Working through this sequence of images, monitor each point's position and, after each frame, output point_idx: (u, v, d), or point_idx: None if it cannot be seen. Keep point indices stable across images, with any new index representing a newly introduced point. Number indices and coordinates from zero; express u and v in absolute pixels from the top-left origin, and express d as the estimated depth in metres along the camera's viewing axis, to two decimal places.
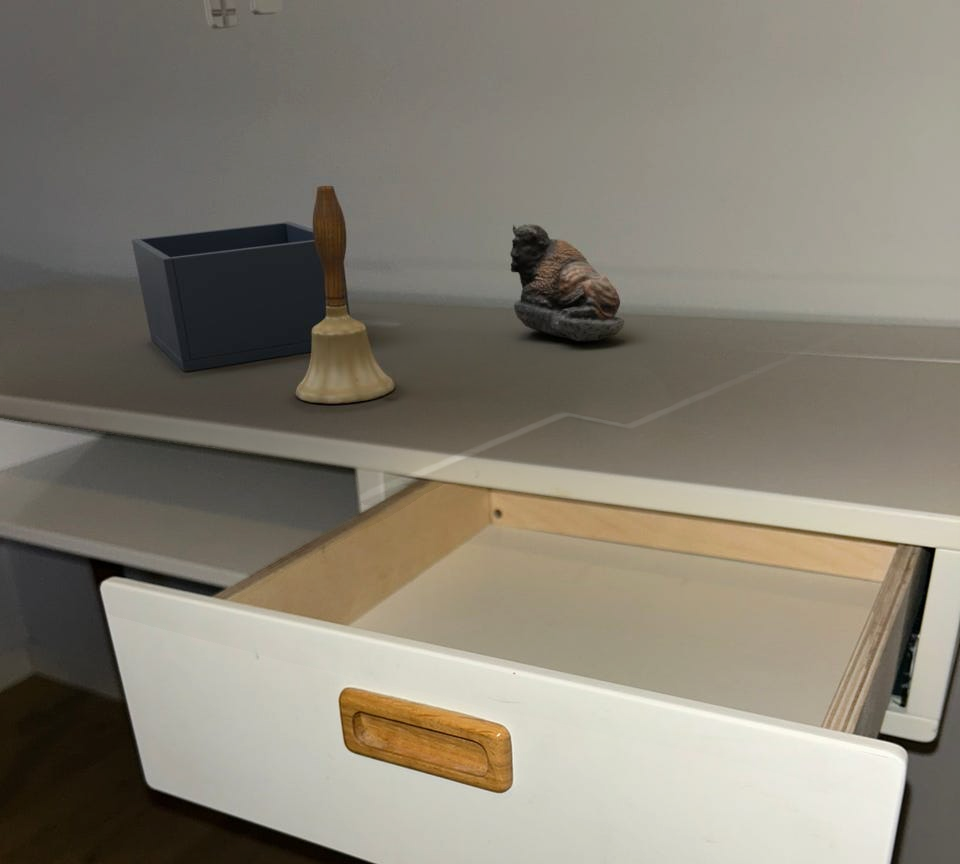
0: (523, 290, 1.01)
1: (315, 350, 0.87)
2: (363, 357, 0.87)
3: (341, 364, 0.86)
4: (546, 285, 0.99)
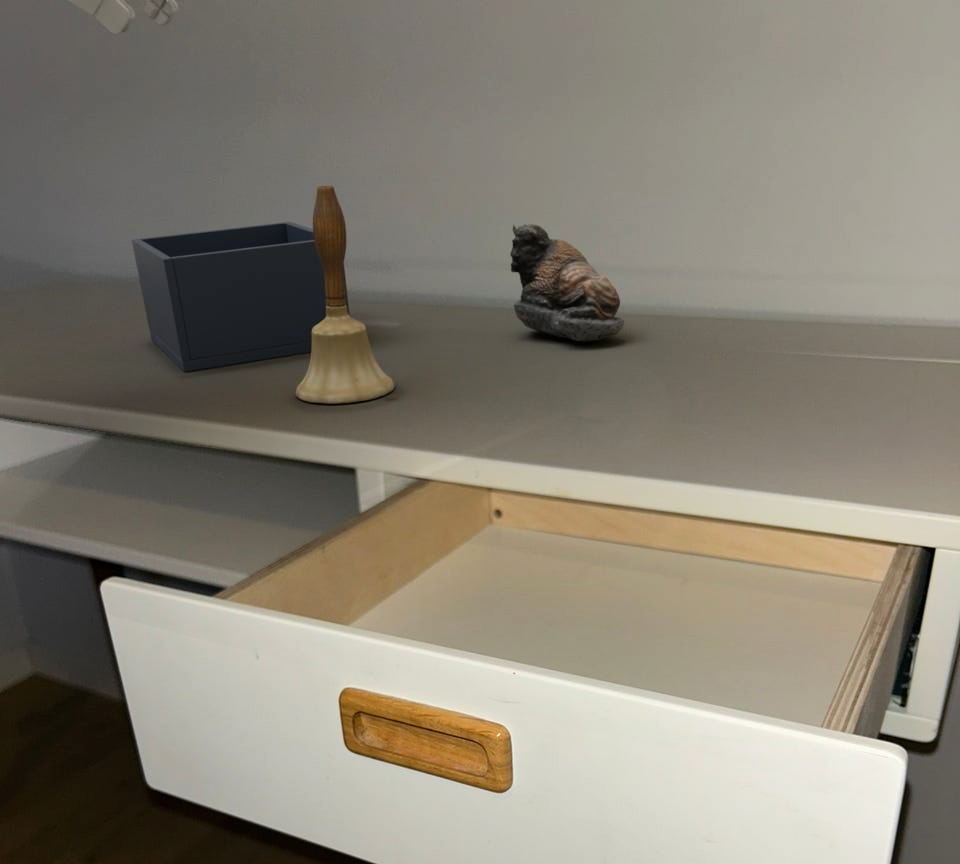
0: (523, 290, 1.01)
1: (315, 350, 0.87)
2: (363, 357, 0.87)
3: (341, 364, 0.86)
4: (546, 285, 0.99)
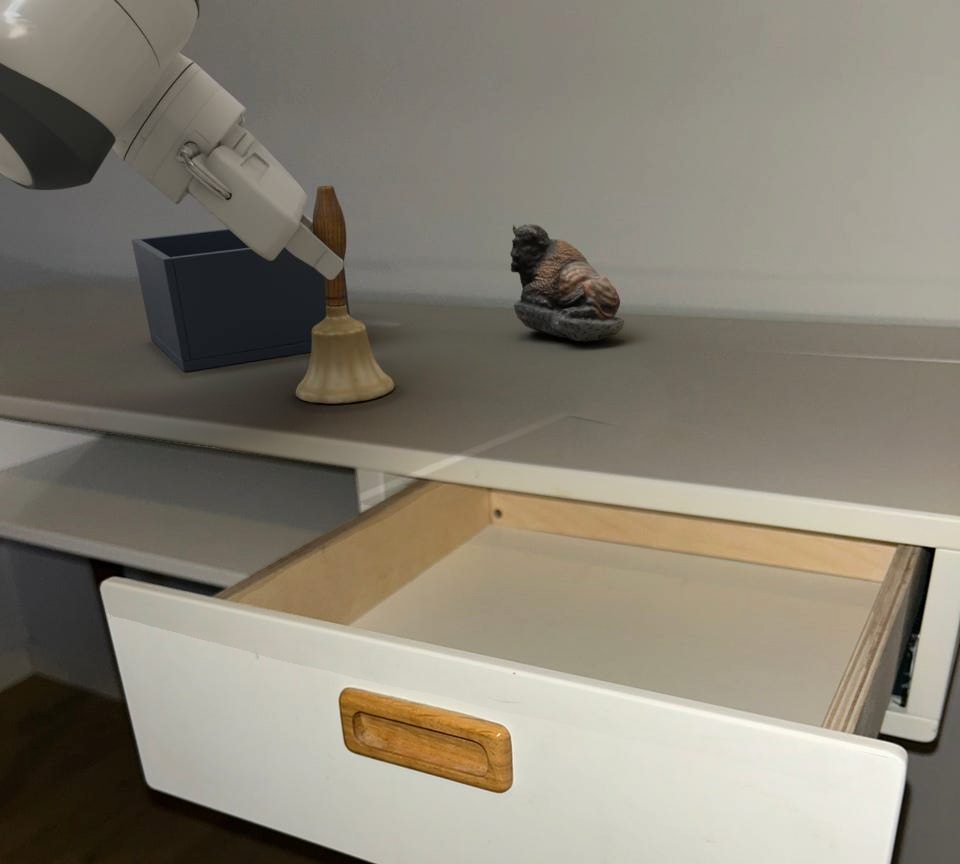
0: (523, 290, 1.01)
1: (315, 350, 0.87)
2: (363, 357, 0.87)
3: (341, 364, 0.86)
4: (546, 285, 0.99)
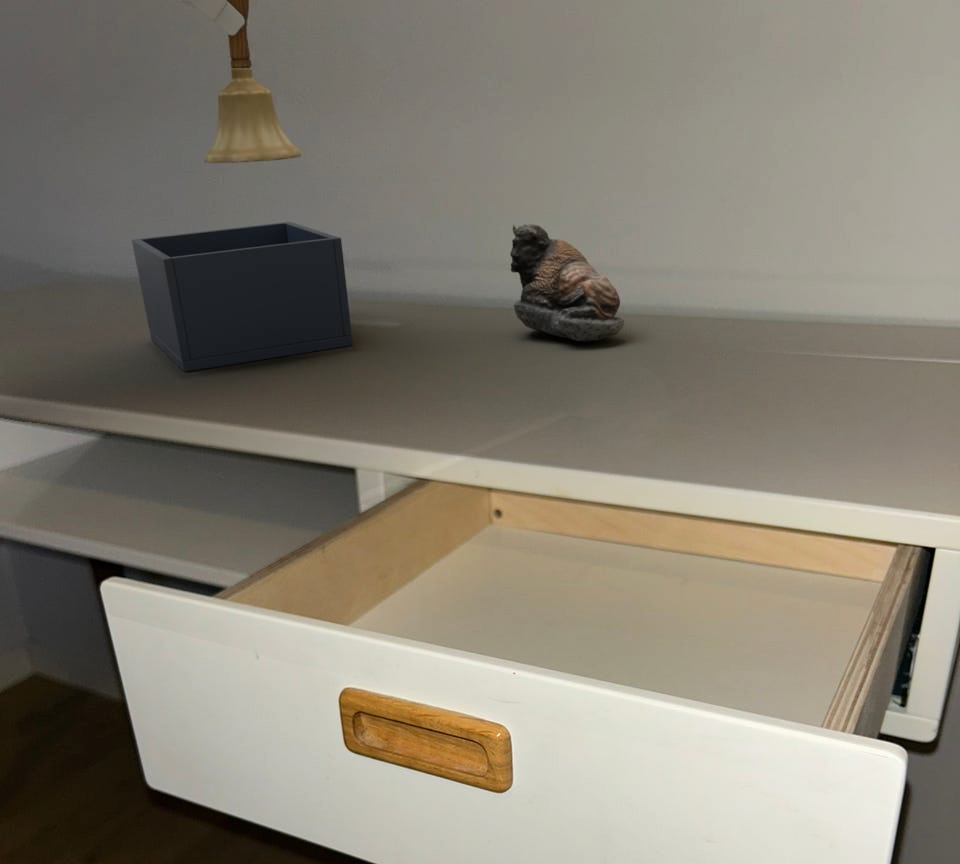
0: (523, 290, 1.01)
1: (221, 113, 0.90)
2: (267, 119, 0.90)
3: (245, 125, 0.89)
4: (546, 285, 0.99)
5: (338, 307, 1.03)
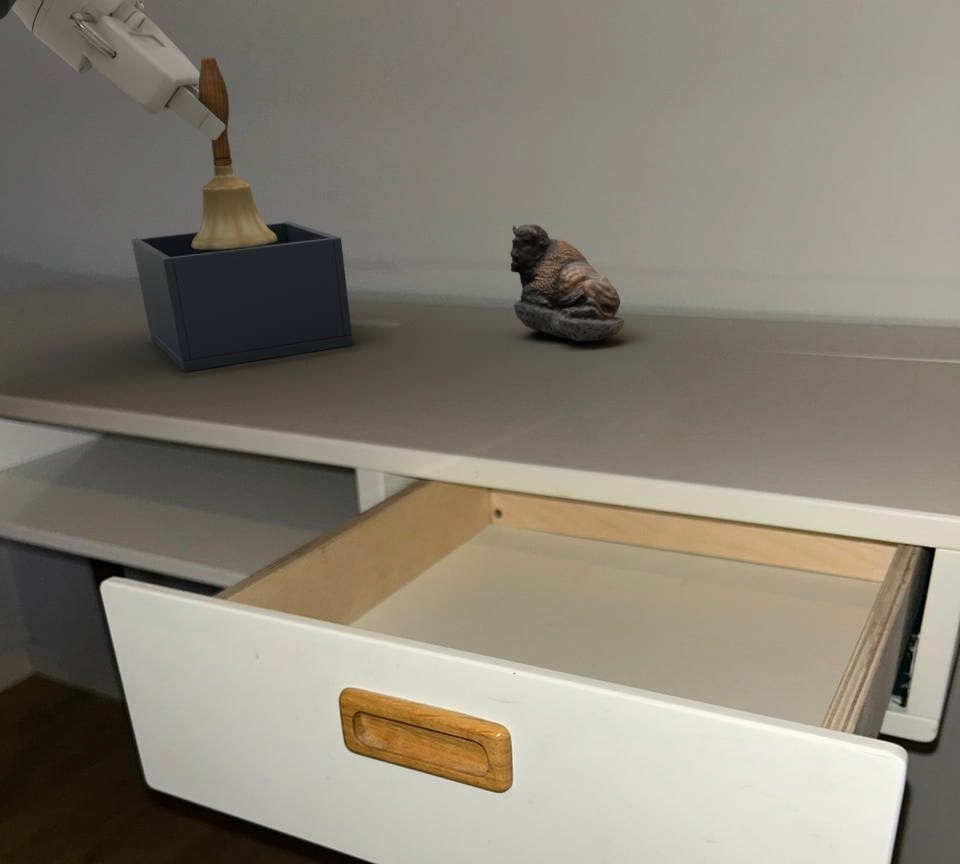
0: (523, 290, 1.01)
1: (205, 205, 1.01)
2: (247, 210, 1.01)
3: (227, 216, 1.00)
4: (546, 285, 0.99)
5: (338, 307, 1.03)
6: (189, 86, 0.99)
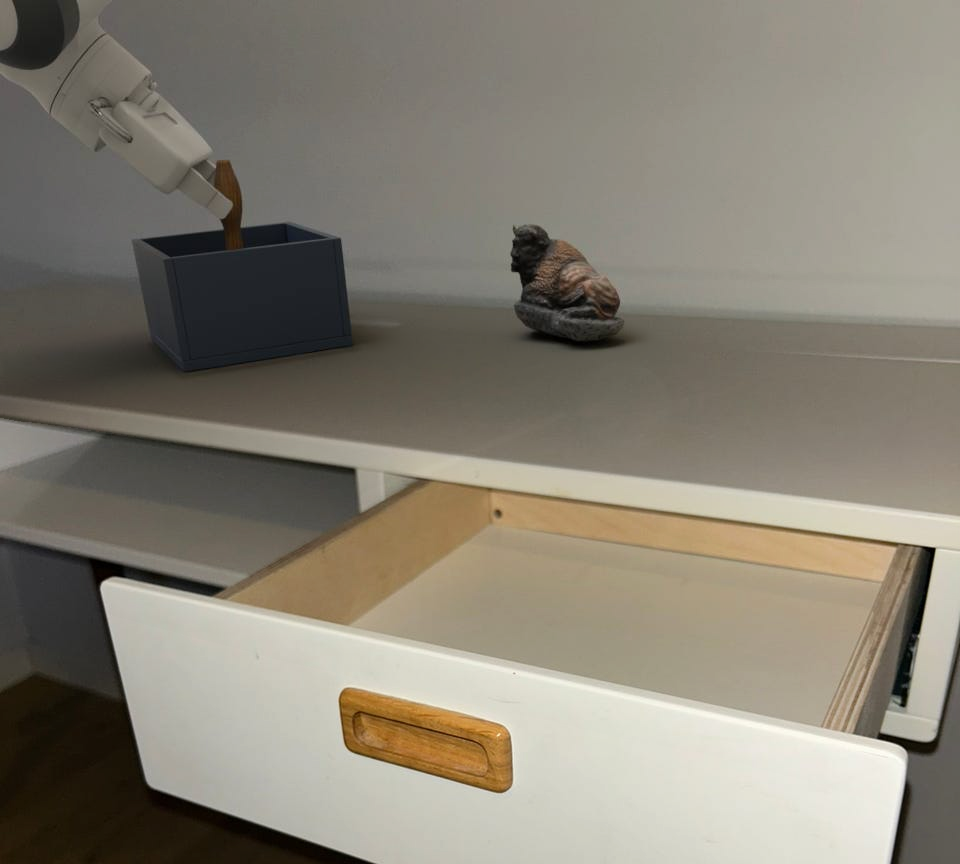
0: (523, 290, 1.01)
1: None
2: None
3: None
4: (546, 285, 0.99)
5: (338, 307, 1.03)
6: (204, 160, 1.05)
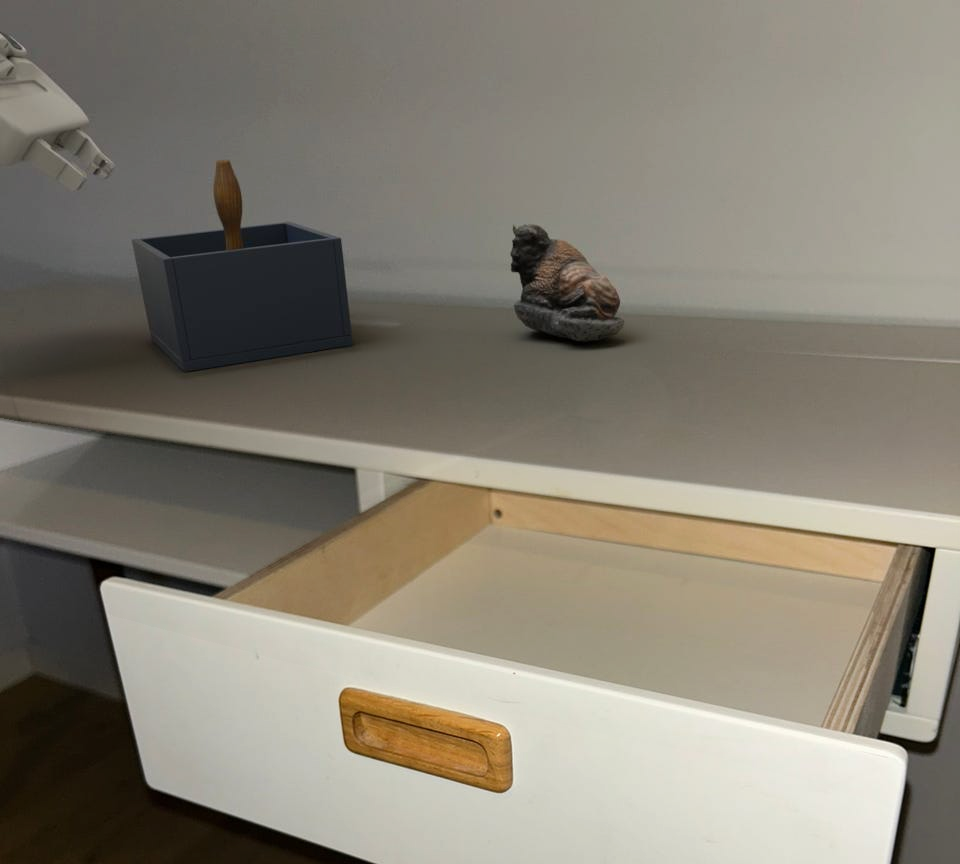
0: (523, 290, 1.01)
1: None
2: None
3: None
4: (546, 285, 0.99)
5: (338, 307, 1.03)
6: (73, 130, 1.02)
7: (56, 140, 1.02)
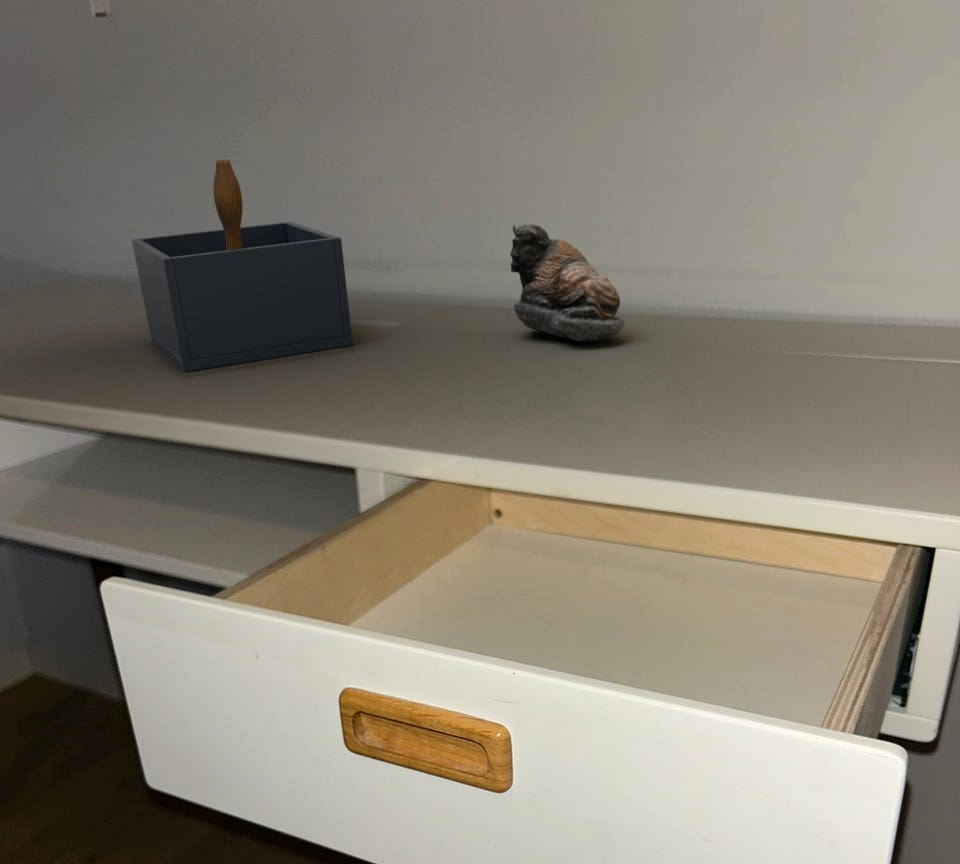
0: (523, 290, 1.01)
1: None
2: None
3: None
4: (546, 285, 0.99)
5: (338, 307, 1.03)
6: None
7: None
